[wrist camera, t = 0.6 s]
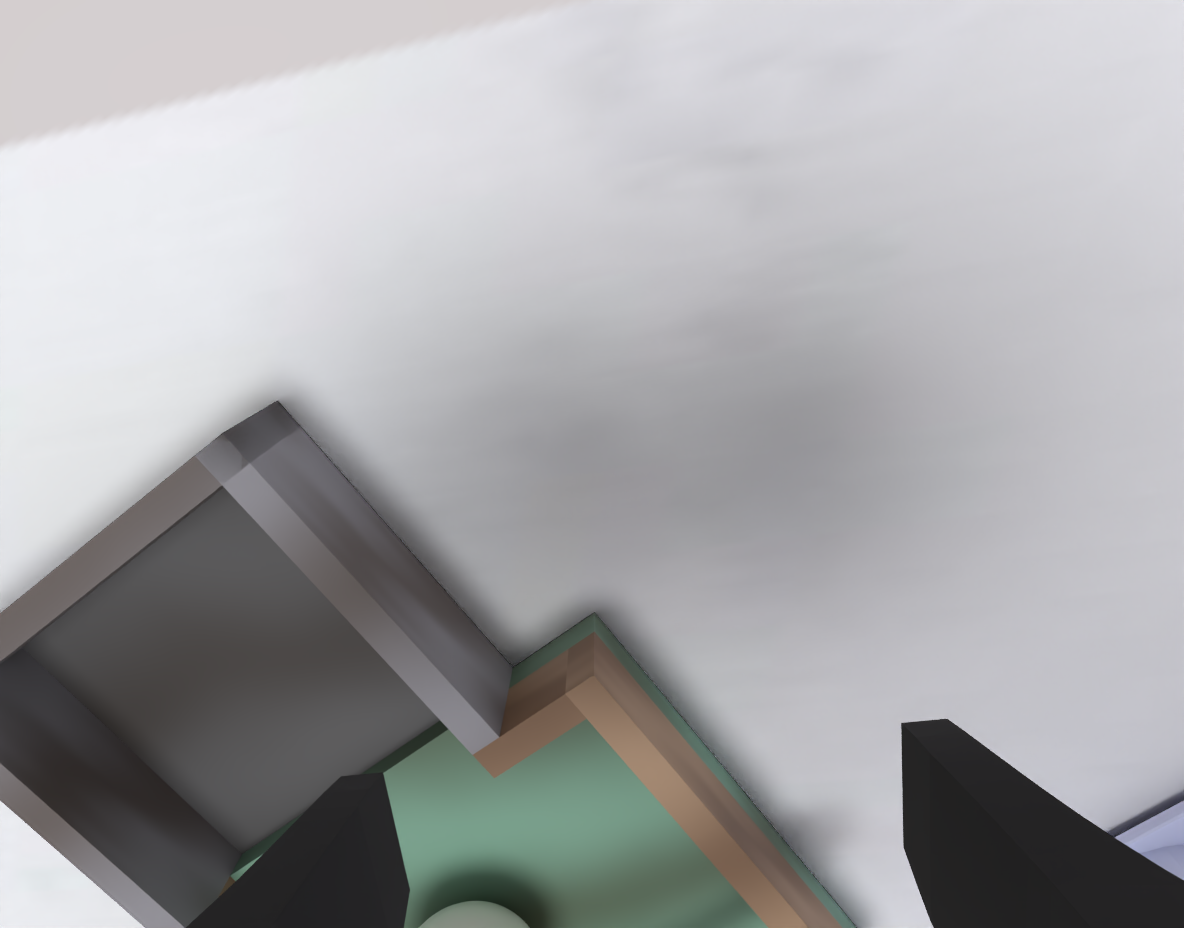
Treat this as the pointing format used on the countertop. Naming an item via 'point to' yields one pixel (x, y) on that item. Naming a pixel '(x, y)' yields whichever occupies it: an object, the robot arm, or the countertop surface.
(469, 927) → the ball
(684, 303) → the countertop surface
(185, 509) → the pitch
